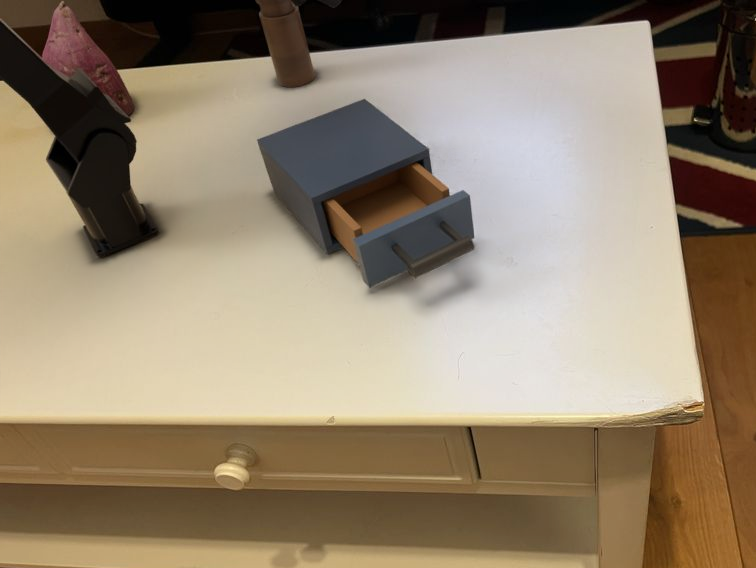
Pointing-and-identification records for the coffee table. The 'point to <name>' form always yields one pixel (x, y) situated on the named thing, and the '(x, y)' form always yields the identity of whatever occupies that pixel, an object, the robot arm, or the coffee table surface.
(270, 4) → the pepper mill
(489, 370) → the coffee table surface
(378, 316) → the coffee table surface
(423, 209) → the drawer
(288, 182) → the cabinet
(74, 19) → the vegetable
